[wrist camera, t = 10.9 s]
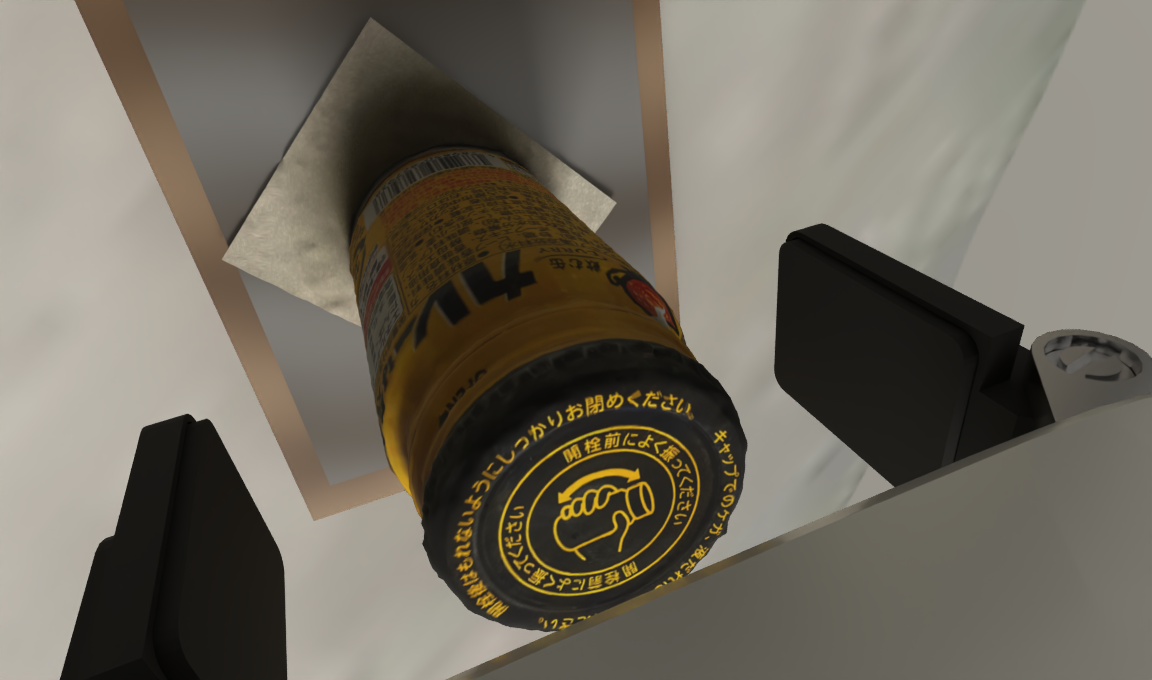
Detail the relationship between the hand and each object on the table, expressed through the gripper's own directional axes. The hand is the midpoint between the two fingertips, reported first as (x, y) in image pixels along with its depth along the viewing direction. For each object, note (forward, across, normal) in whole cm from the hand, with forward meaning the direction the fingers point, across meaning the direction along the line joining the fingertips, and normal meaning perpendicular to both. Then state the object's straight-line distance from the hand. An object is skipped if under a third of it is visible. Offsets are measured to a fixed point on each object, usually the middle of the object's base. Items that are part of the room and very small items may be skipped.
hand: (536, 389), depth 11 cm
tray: (+14, -1, +1) cm, 14 cm away
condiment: (+10, 0, +1) cm, 10 cm away
